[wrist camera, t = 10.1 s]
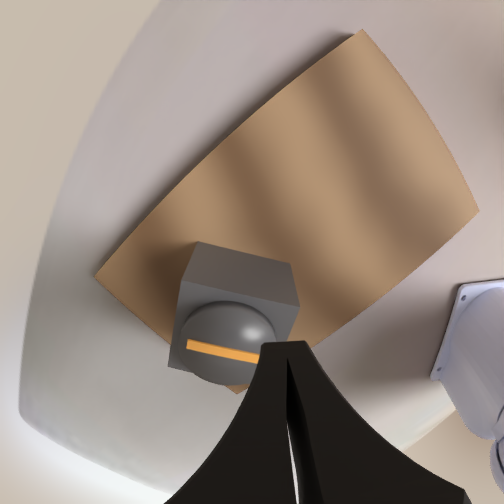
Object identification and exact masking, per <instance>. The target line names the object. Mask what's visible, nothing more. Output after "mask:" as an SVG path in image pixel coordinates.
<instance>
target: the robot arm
mask: <svg viewBox="0 0 504 504" xmlns="http://www.w3.org/2000/svg"><path fill="white" fill-rule="evenodd" d="M462 296H463V297H462ZM430 379H431V380H432V381H437V380H440V381H441V382H442V384H443V386H444V388H445V389H446V391H447V393H448V395H449V397H450V398H451V400H452V402H453V404H454V406H455V407H456V409H457V411H458V413H459V415H460V417H461V418H462V420H463V422H464V424H465V425H466V427H467V428H468V429H469V430H470V431H471V432H472V433H474V434H475V435H477V436H478V437H480V438H484V439H491V440H493V439H496V440H495V442H494V443H493V444H492V447H491V451H490V466H491V471H492V474H493V477H494V479H495V481H496V483H497V485H498V486H499V488H500V489H501V491H502V492H503V493H504V279H503V280H495V281H487V282H479V283H470V284H463V285H462V286H460V288H459V290H458V293H457V296H456V300H455V304H454V307H453V311H452V314H451V317H450V321H449V324H448V327H447V330H446V333H445V336H444V339H443V342H442V345H441V348H440V351H439V354H438V356H437V359H436V362H435V364H434V367H433V370H432V372H431V375H430ZM287 424H288V428H287ZM288 430H289V435H290V441H291V446H292V452H293V457H294V462H295V468H296V474H297V482H298V495H299V504H472V503H471V501H470V499H469V497H468V496H467V494H466V492H465V490H464V489H462V488H460V487H458V486H456V485H454V484H452V483H450V482H448V481H446V480H444V479H442V478H440V477H439V476H437V475H435V474H433V473H432V472H430V471H428V470H427V469H425V468H423V467H422V466H420V465H419V464H417V463H416V462H414V461H413V460H411V459H410V458H409V457H407V456H406V455H405V454H403V453H402V452H401V451H399V450H398V449H397V448H395V447H394V446H393V445H391V444H390V443H389V442H388V441H387V440H385V439H384V438H383V437H382V436H381V435H380V434H379V433H377V432H376V431H375V430H374V429H373V428H372V427H371V426H370V425H369V424H368V423H367V422H366V421H365V420H364V419H363V418H362V417H361V416H360V415H359V414H358V413H357V412H356V411H355V410H354V408H353V407H352V406H351V405H350V404H349V403H348V401H347V400H346V399H345V398H344V397H343V396H342V394H341V393H340V392H339V391H338V389H337V388H336V387H335V385H334V384H333V382H332V381H331V380H330V378H329V377H328V376H327V374H326V373H325V371H324V370H323V368H322V367H321V365H320V364H319V362H318V361H317V359H316V357H315V356H314V354H313V352H312V350H311V349H310V347H309V345H308V343H307V342H306V341H305V340H300V341H284V342H264V343H263V344H262V345H261V349H260V355H259V360H258V363H257V367H256V370H255V373H254V376H253V378H252V381H251V383H250V386H249V388H248V391H247V393H246V395H245V397H244V399H243V401H242V403H241V405H240V407H239V409H238V411H237V413H236V415H235V417H234V419H233V420H232V422H231V424H230V425H229V427H228V429H227V430H226V432H225V433H224V435H223V436H222V438H221V440H220V441H219V442H218V444H217V445H216V447H215V448H214V449H213V451H212V452H211V453H210V455H209V456H208V457H207V459H206V460H205V461H204V462H203V464H202V465H201V466H200V467H199V469H198V470H197V471H196V472H195V473H194V474H193V475H192V476H191V477H190V478H189V479H188V481H187V482H186V483H185V484H184V485H183V486H182V487H181V488H180V489H179V490H178V491H177V492H176V493H175V494H174V495H173V496H172V497H171V498H170V499H169V500H167V502H165V503H164V504H297V503H296V495H295V487H294V479H293V472H292V463H291V455H290V446H289V437H288Z"/></svg>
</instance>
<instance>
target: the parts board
mask: <svg viewBox="0 0 504 504" xmlns="http://www.w3.org/2000/svg"><path fill="white" fill-rule="evenodd" d="M478 212H479V208H478V206H477V204H476V202H475V200H474V197H473V195H472V193H471V191H470V189H469V187H468V185H467V183H466V181H465V179H464V177H463V175H462V173H461V171H460V169H459V167H458V165H457V163H456V162H455V160H454V158H453V156H452V154H451V152H450V151H449V149H448V147H447V145H446V144H445V142H444V140H443V138H442V137H441V135H440V133H439V132H438V130H437V128H436V127H435V125H434V124H433V122H432V120H431V119H430V117H429V116H428V114H427V113H426V111H425V109H424V108H423V106H422V105H421V103H420V102H419V100H418V99H417V98H416V96H415V95H414V93H413V92H412V90H411V89H410V88H409V86H408V85H407V83H406V82H405V81H404V79H403V78H402V77H401V75H400V74H399V73H398V71H397V70H396V69H395V67H394V66H393V65H392V63H391V62H390V61H389V60H388V58H387V57H386V56H385V55H384V53H383V52H382V51H381V50H380V49H379V47H378V46H377V45H376V44H375V43H374V41H373V40H372V39H371V38H370V37H369V36H368V35H367V33H366V32H365V31H364V30H363V29H362V30H360V31H359V32H357V33H356V34H354V35H353V36H352V37H350V38H349V39H347V40H346V41H344V42H343V43H342V44H340V45H339V46H338V47H336V48H335V49H333V50H332V51H331V52H329V53H328V54H327V55H325V56H324V57H323V58H321V59H320V60H319V61H317V62H316V63H315V64H313V65H312V66H311V67H310V68H308V69H307V70H306V71H304V72H303V73H302V74H301V75H299V76H298V77H297V78H296V79H294V80H293V81H292V82H291V83H289V84H288V85H287V86H286V87H284V88H283V89H282V90H281V91H280V92H278V93H277V94H276V95H275V96H274V97H272V98H271V99H270V100H269V101H268V102H266V103H265V104H264V105H263V106H262V107H261V108H259V109H258V110H257V111H256V112H255V113H254V114H252V115H251V116H250V117H249V118H248V119H247V120H246V121H244V122H243V123H242V124H241V125H240V126H239V127H238V128H237V129H235V130H234V131H233V132H232V133H231V134H230V135H229V136H228V137H227V138H226V139H224V140H223V141H222V142H221V143H220V144H219V145H218V146H217V147H216V148H215V149H214V150H213V151H212V152H210V153H209V154H208V155H207V156H206V157H205V158H204V159H203V160H202V161H201V162H200V163H199V164H198V165H197V166H196V167H195V168H194V169H193V170H192V171H191V172H190V173H189V174H188V175H187V176H186V177H185V178H184V179H183V180H182V181H181V182H180V183H179V184H178V185H177V186H176V187H175V188H174V189H173V190H172V191H171V192H170V193H169V194H168V195H167V196H166V197H165V198H164V199H163V200H162V201H161V202H160V203H159V204H158V205H157V206H156V207H155V208H154V209H153V210H152V211H151V213H150V214H149V215H148V216H147V217H146V218H145V219H144V220H143V221H142V222H141V223H140V224H139V225H138V227H137V228H136V229H135V230H134V231H133V232H132V233H131V234H130V235H129V236H128V238H127V239H126V240H125V241H124V242H123V243H122V244H121V245H120V247H119V248H118V249H117V250H116V251H115V252H114V253H113V255H112V256H111V257H110V258H109V259H108V260H107V261H106V263H105V264H104V265H103V266H102V267H101V269H100V270H99V271H98V272H97V273H96V275H95V276H94V278H95V279H96V280H97V281H98V282H100V283H101V284H102V285H103V286H104V287H105V288H106V289H107V290H108V291H109V292H110V293H111V294H112V295H113V296H115V297H116V298H117V299H118V300H119V301H120V302H121V303H122V304H123V305H124V306H126V307H127V308H128V309H129V310H130V311H131V312H132V313H134V314H135V315H136V316H137V317H138V318H139V319H140V320H142V321H143V322H144V323H145V324H146V325H147V326H149V327H150V328H151V329H152V330H153V331H155V332H156V333H157V334H158V335H159V336H161V337H162V338H163V339H164V340H165V341H167V342H168V343H169V344H170V345H171V340H172V334H173V327H174V321H175V315H176V309H177V303H178V297H179V291H180V285H181V280H182V277H183V275H184V273H185V270H186V268H187V266H188V263H189V261H190V259H191V256H192V254H193V252H194V249H195V247H196V245H197V242H198V241H199V242H204V243H208V244H212V245H216V246H220V247H224V248H228V249H232V250H237V251H241V252H245V253H249V254H253V255H257V256H261V257H265V258H270V259H274V260H278V261H282V262H286V263H290V265H291V269H292V274H293V278H294V282H295V286H296V290H297V295H298V299H299V303H300V309H299V312H298V315H297V317H296V320H295V322H294V324H293V327H292V329H291V332H290V334H289V337H288V339H287V341H300V340H305V341H306V342H307V343H308V345H309V347H310V348H312V347H313V346H315V345H316V344H318V343H319V342H321V341H322V340H323V339H325V338H326V337H328V336H329V335H331V334H332V333H333V332H335V331H336V330H338V329H339V328H340V327H342V326H343V325H345V324H346V323H347V322H349V321H350V320H352V319H353V318H354V317H356V316H357V315H358V314H360V313H361V312H362V311H364V310H365V309H366V308H368V307H369V306H370V305H372V304H373V303H374V302H375V301H377V300H378V299H379V298H381V297H382V296H383V295H385V294H386V293H387V292H388V291H390V290H391V289H392V288H393V287H395V286H396V285H397V284H398V283H400V282H401V281H402V280H403V279H404V278H406V277H407V276H408V275H409V274H411V273H412V272H413V271H414V270H415V269H417V268H418V267H419V266H420V265H421V264H422V263H424V262H425V261H426V260H427V259H428V258H429V257H431V256H432V255H433V254H434V253H435V252H436V251H437V250H439V249H440V248H441V247H442V246H443V245H444V244H445V243H446V242H448V241H449V240H450V239H451V238H452V237H453V236H454V235H455V234H456V233H457V232H458V231H460V230H461V229H462V228H463V227H464V226H465V225H466V224H467V223H468V222H469V221H470V220H471V219H472V218H473V217H474V216H475V215H476V214H477V213H478ZM224 386H226V387H227V388H229V389H230V390H231V391H233V392H234V393H236V394H238V393H240V392H242V391H243V390H245V389H247V388H249V386H250V384H242V385H231V386H229V385H224Z"/></svg>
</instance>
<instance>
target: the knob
mask: <svg viewBox="0 0 504 504" xmlns="http://www.w3.org/2000/svg"><path fill="white" fill-rule="evenodd" d="M299 309H300V303H299V299H298V295H297V290H296V286H295V282H294V278H293V274H292V269H291V265H290V263H286V262H282V261H278V260H274V259H270V258H265V257H261V256H257V255H253V254H249V253H245V252H241V251H237V250H232V249H228V248H224V247H220V246H216V245H212V244H208V243H204V242H199V241H198V242H197V245H196V247H195V249H194V252H193V254H192V256H191V259H190V261H189V263H188V266H187V268H186V270H185V273H184V275H183V277H182V280H181V285H180V291H179V297H178V303H177V309H176V315H175V321H174V327H173V334H172V340H171V347H170V354H169V361H168V367H171V368H175V369H179V370H183V371H187V372H192V373H194V374H195V375H197V376H198V377H200V378H202V379H204V380H206V381H209V382H211V383H215V384H220V385H229V386H231V385H242V384H250V383H251V381H252V378H253V376H254V373H255V370H256V367H257V363H258V360H259V355H260V349H261V345H262V344H263V343H264V342H284V341H287V339H288V337H289V334H290V332H291V329H292V327H293V324H294V322H295V320H296V317H297V315H298V312H299Z"/></svg>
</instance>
